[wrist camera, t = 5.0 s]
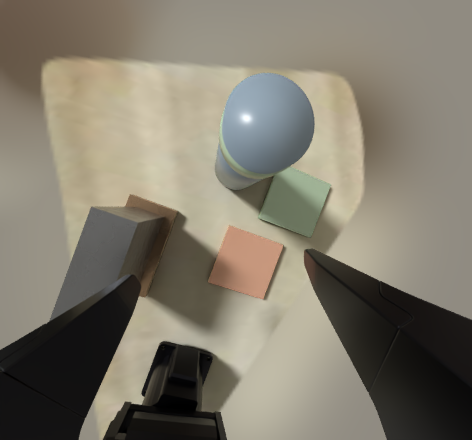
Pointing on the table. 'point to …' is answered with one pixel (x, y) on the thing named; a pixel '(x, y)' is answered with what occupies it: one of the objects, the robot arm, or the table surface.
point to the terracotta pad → (245, 262)
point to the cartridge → (262, 130)
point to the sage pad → (294, 201)
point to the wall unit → (116, 249)
